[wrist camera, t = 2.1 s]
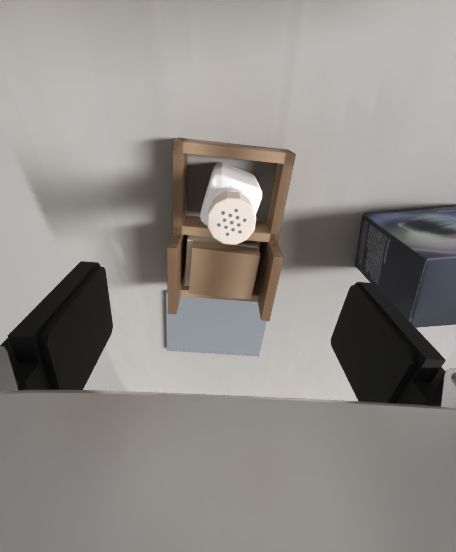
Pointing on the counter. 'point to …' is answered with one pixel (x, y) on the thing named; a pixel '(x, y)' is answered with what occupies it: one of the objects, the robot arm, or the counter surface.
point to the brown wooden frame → (194, 226)
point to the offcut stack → (221, 267)
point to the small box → (412, 261)
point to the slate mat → (215, 326)
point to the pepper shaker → (231, 204)
